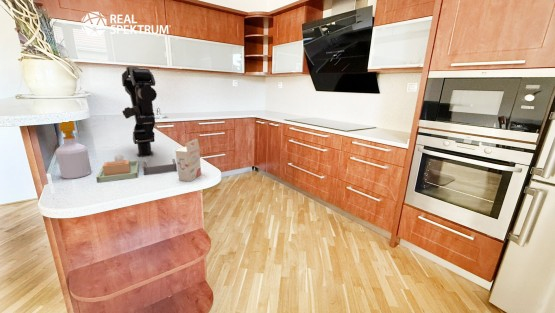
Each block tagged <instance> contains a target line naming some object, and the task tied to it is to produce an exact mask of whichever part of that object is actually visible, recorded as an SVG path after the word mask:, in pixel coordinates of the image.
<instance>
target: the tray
mask: <svg viewBox="0 0 555 313" xmlns="http://www.w3.org/2000/svg"><path fill="white" fill-rule="evenodd" d="M130 168H131V173H127V174H118V175H110V176H104V171H103V166H101V168H100V170H99V172H98V174H97V176H96V183H98V184H99V183H106V182H115V181H123V180H129V179H137V178H138V176H139V169H140V162H139V160H136V161H135V160H134V161H130Z"/></svg>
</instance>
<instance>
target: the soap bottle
mask: <svg viewBox="0 0 555 313" xmlns="http://www.w3.org/2000/svg"><path fill="white" fill-rule="evenodd" d="M58 125H59V129H58V130H59V132H60V133H62V134H64V136H63V137H62V138H63V139H62V140H63V144H61V145H59V146H58V148H56V150H55V154H56V159H57V163H58V166H59V170H60V175H61V178H63V179H67V180H68V179H69V180H73V179H80V178H84V177H86V176H89V175H90V174H92V171H93V170H92V166H91V162H90V158H89V151H88V148H87V147H86V145H83V144H81V143H78V142H77V140H76V137H75V136H74V135H72V133H73V131H76V127H75V123H74V120H73V121H69V122H62V123H58Z"/></svg>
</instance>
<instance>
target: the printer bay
mask: <svg viewBox="0 0 555 313" xmlns="http://www.w3.org/2000/svg"><path fill="white" fill-rule="evenodd" d="M171 160H172V161H171V162H172V163H169V164H168V163H166V164H160V165H159V164H158V165H149V166H148V165H147V163H148V162H147V161H143V164H142V169H143V175H144V176H148V175H157V174H163V173H165V174H166V173H172V172H178V167H177V161H176V159H175V158H171Z"/></svg>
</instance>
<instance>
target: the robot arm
mask: <svg viewBox="0 0 555 313" xmlns="http://www.w3.org/2000/svg"><path fill="white" fill-rule="evenodd" d="M121 84H122V87H124V91H125V93H127V94H128V95H129V96H130V97H129V98H130V101H131V105H132V106H131V107H129V106H127V107H125V108H124V110H122V111H121V113H122V115H123V116H124V117H125V119H129V118H132V117H133V116H134V120H135V124H134V125H135V126H134V127H133V131H132V141H133V143H134V145H137V150H138V152H137V157H146V156H153V154H154V152H153V150H152V144H151V143H154V142H155V132H154V128H155V125H156V118H155V112H154V106H153V102H154V101H155V100H156V99H157V96H158V94H157V91H156V90H155V88H154V87H155V86H156V79H155V77H154V75H153V72H152V71H151V70H150V68H140V67H138V66H126V68H125V71H124V72H123V73H122V74H121ZM153 86H154V87H153Z"/></svg>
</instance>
